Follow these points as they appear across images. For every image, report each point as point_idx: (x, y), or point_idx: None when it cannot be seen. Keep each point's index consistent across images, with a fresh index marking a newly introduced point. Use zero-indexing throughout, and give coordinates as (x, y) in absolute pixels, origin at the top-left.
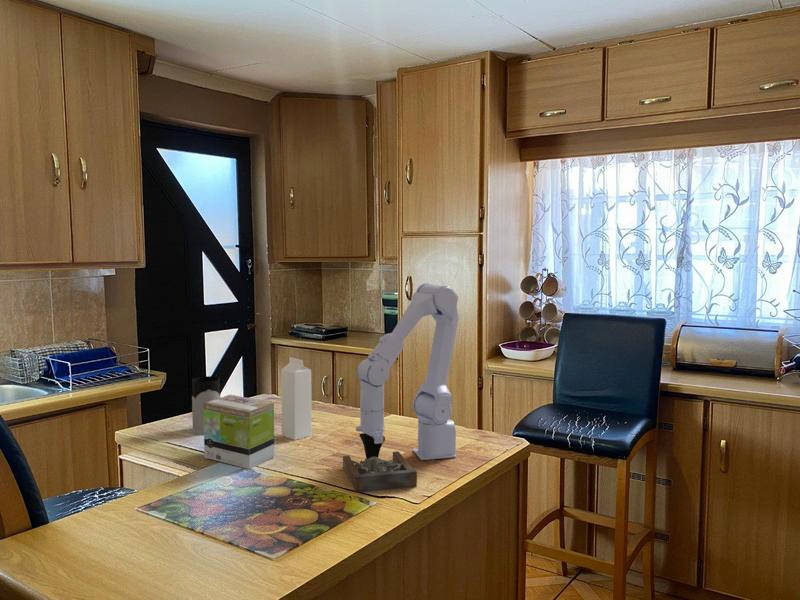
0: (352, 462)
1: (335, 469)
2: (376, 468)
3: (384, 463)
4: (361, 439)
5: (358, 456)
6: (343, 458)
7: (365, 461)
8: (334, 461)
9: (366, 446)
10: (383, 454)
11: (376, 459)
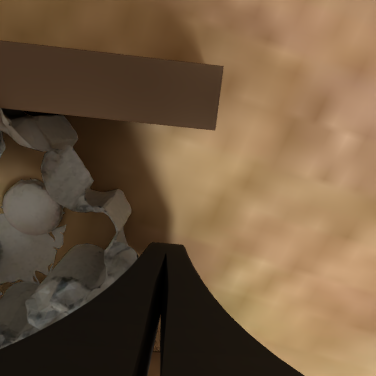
0: (15, 104)
1: (206, 18)
2: (60, 263)
3: (32, 326)
4: (258, 356)
5: (362, 235)
6: (191, 65)
7: (120, 231)
8: (360, 60)
9: (49, 331)
10: (321, 353)
11: (78, 305)
